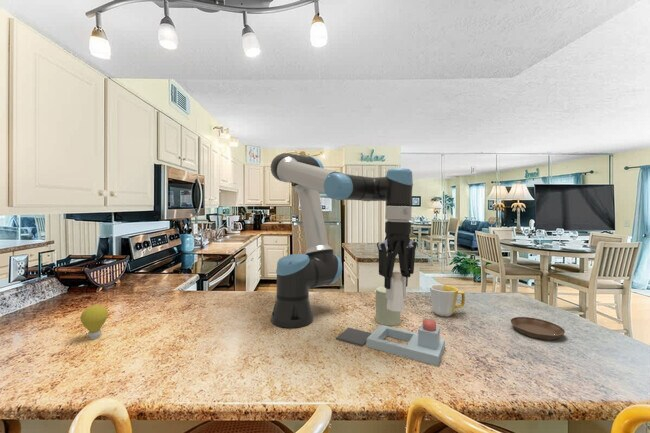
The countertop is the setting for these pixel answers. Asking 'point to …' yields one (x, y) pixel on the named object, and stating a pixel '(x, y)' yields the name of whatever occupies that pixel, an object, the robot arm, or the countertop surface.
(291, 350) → the countertop surface
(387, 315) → the can
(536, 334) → the saucer
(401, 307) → the pepper shaker
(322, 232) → the robot arm
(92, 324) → the light bulb
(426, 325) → the plunger
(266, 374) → the countertop surface
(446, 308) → the mug
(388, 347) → the frame
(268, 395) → the countertop surface
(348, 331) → the mat
